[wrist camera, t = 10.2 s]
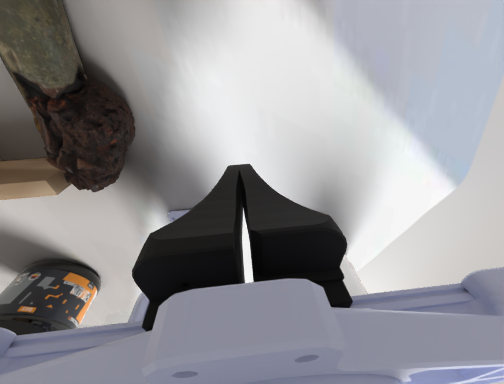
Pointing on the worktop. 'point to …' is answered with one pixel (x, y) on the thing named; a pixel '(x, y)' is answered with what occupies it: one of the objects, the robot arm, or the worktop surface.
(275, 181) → the worktop surface
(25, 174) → the light wooden open box
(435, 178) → the worktop surface
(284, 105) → the worktop surface
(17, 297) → the supplement container
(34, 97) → the metal pipe
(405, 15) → the worktop surface
